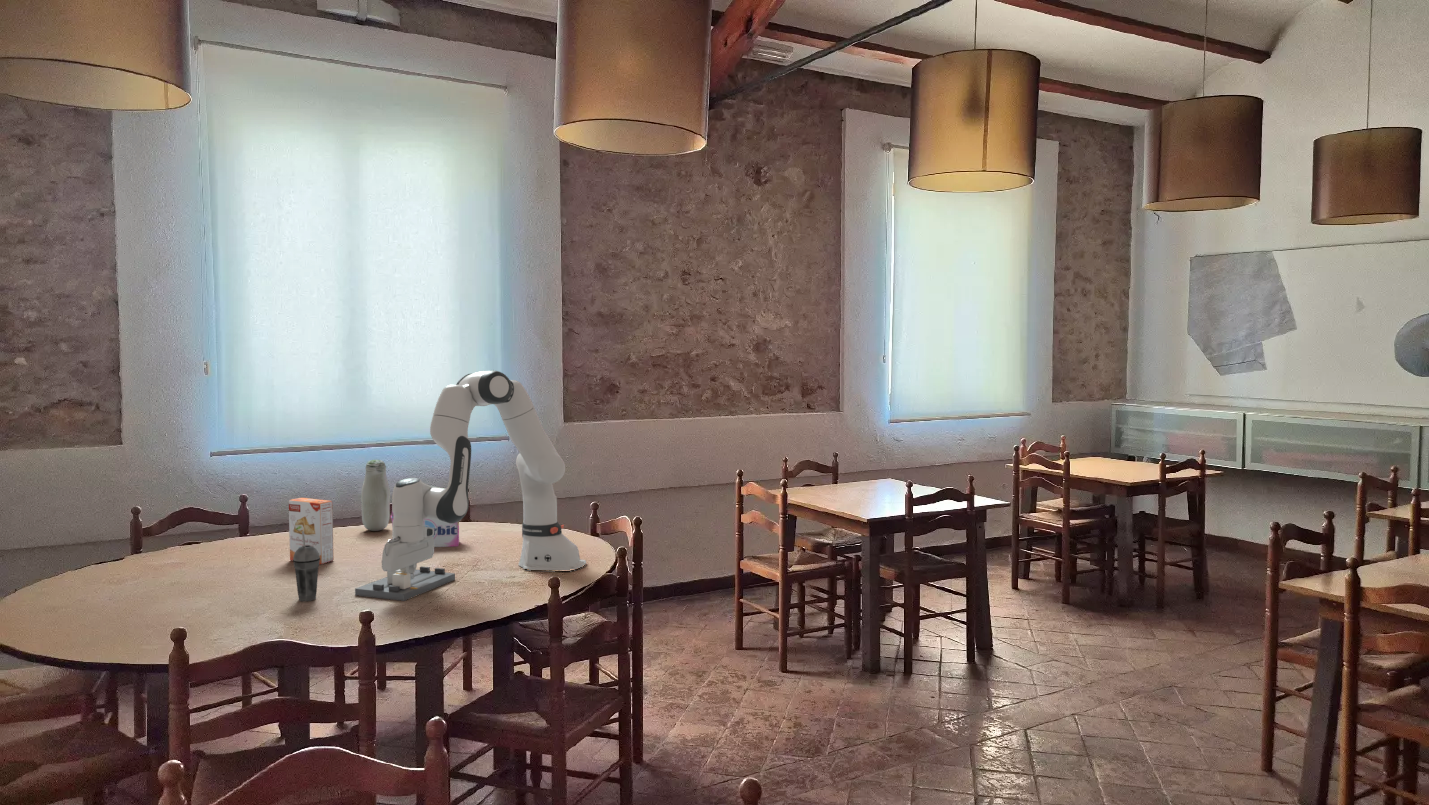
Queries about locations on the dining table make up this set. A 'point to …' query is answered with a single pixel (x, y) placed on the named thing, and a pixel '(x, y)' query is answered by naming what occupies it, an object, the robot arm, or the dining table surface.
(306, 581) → the beverage cup
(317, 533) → the cracker box
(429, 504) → the robot arm
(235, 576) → the dining table surface
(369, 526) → the glass bottle
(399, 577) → the fader
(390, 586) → the console
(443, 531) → the gum box
